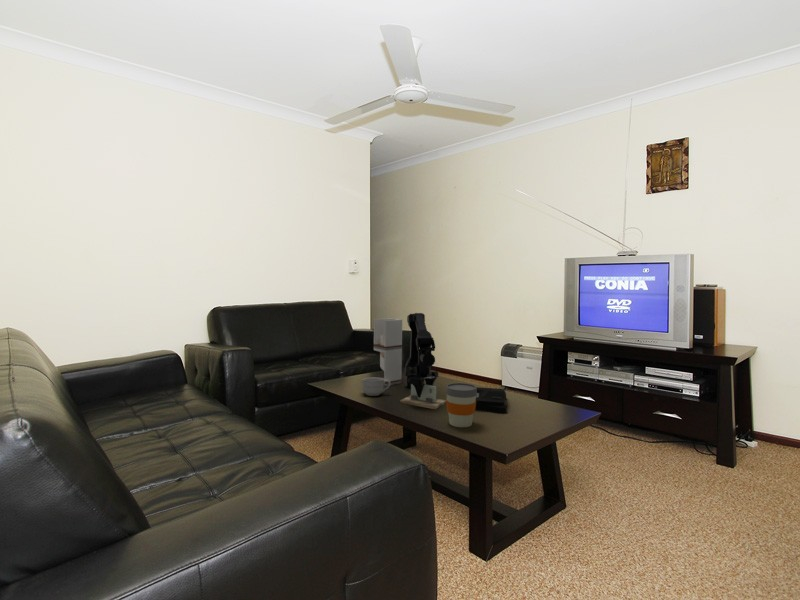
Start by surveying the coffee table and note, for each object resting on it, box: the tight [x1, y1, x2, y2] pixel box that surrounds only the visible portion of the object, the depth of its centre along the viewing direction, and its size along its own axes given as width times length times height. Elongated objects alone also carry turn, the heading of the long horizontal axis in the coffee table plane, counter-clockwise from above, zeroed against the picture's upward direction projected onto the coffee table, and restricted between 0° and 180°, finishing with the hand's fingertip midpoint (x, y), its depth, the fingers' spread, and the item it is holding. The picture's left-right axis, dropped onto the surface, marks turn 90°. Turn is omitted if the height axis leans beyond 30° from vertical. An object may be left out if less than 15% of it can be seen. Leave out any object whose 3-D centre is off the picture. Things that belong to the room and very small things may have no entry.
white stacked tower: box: [373, 317, 403, 387], centre depth 241 cm, size 11×11×35 cm
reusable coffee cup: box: [445, 382, 477, 428], centre depth 175 cm, size 13×12×15 cm
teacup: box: [361, 376, 392, 397], centre depth 216 cm, size 14×11×8 cm
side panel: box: [399, 394, 446, 410], centre depth 204 cm, size 12×18×3 cm, turn 59°
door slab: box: [410, 383, 437, 402], centre depth 203 cm, size 3×12×7 cm, turn 59°
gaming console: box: [475, 386, 508, 415], centre depth 204 cm, size 27×20×7 cm
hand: (423, 395), depth 204 cm, fingers open, 8 cm apart
